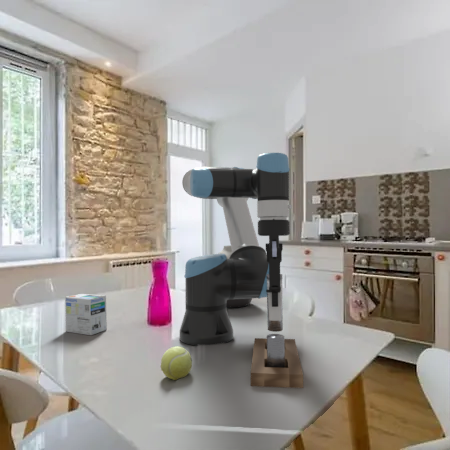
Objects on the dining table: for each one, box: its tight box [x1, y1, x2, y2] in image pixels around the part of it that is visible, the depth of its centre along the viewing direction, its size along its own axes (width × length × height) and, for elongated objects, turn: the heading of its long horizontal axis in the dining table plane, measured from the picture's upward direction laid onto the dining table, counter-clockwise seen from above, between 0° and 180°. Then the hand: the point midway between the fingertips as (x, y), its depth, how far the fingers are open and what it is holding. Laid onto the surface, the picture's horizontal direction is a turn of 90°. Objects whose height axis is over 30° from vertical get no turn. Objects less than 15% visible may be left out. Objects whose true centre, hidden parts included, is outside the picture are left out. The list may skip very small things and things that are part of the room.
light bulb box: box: [64, 293, 108, 336], centre depth 112 cm, size 11×7×11 cm, turn 65°
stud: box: [266, 273, 284, 333], centre depth 86 cm, size 4×4×13 cm
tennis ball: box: [160, 346, 193, 381], centre depth 77 cm, size 6×7×7 cm
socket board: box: [250, 337, 304, 389], centre depth 81 cm, size 10×22×3 cm, turn 173°
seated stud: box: [266, 333, 285, 368], centre depth 76 cm, size 4×4×8 cm
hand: (274, 317), depth 86 cm, fingers closed on stud, 4 cm apart
